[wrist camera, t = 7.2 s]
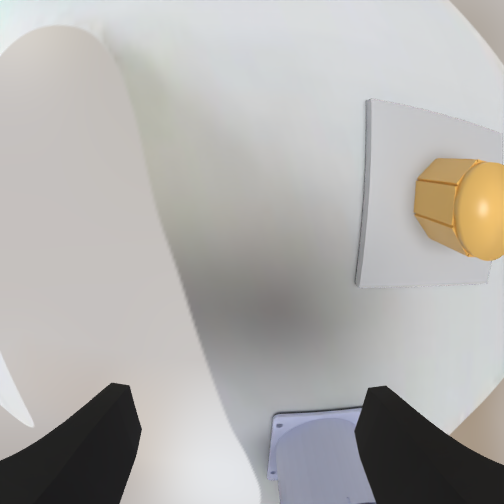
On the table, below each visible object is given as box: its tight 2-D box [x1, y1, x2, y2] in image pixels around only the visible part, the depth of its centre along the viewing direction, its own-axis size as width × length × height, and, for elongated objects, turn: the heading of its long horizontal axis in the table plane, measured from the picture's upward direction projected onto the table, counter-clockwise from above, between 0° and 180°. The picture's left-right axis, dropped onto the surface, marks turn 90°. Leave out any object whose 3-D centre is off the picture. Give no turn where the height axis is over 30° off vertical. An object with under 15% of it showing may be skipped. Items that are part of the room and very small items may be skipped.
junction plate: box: [355, 98, 503, 288], centre depth 15 cm, size 11×11×4 cm
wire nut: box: [414, 158, 504, 261], centre depth 14 cm, size 5×5×5 cm
